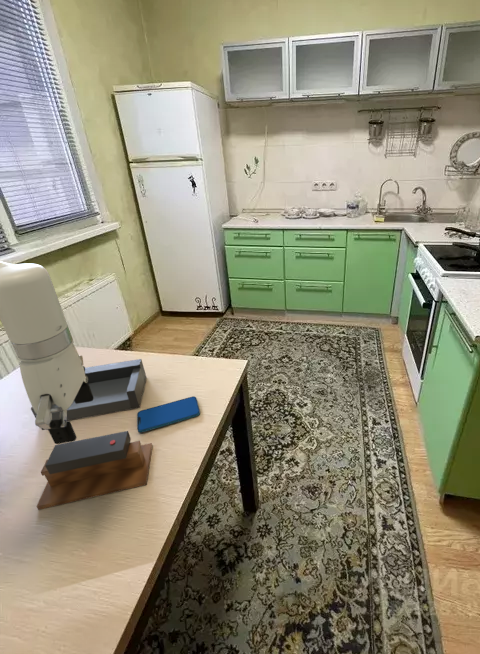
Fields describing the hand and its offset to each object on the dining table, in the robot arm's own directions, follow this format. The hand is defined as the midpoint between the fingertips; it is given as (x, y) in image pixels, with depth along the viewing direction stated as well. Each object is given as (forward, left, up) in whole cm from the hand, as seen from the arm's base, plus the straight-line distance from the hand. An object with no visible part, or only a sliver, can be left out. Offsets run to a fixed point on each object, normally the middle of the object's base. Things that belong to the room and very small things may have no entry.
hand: (76, 419), depth 59 cm
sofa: (-8, +29, -18) cm, 35 cm away
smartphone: (+12, +17, -18) cm, 27 cm away
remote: (-1, +3, -12) cm, 13 cm away
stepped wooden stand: (-1, +3, -18) cm, 18 cm away
